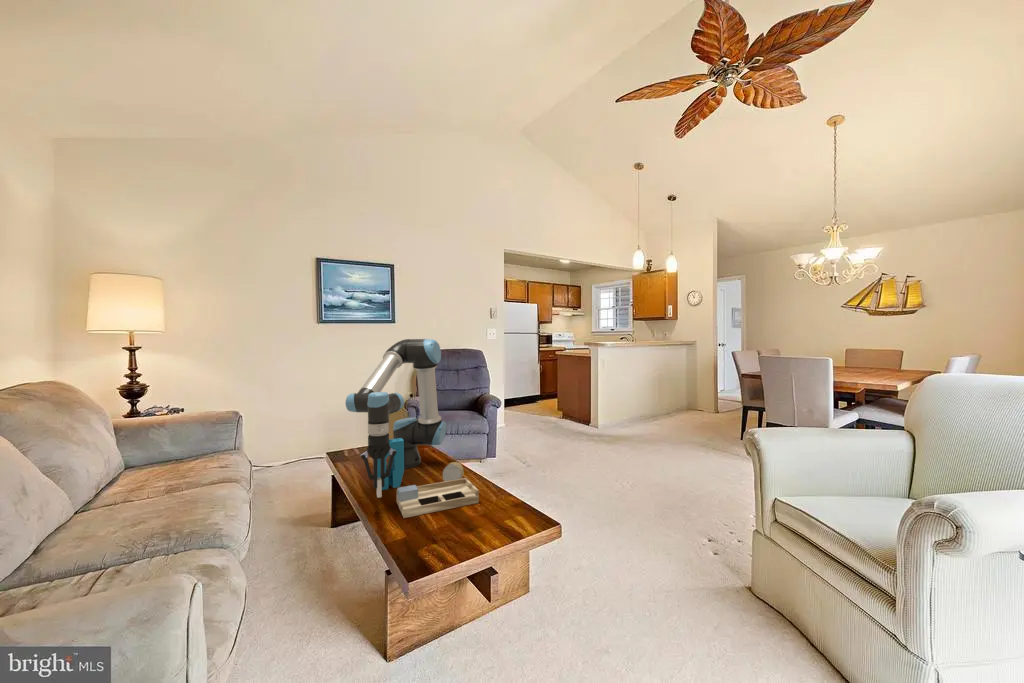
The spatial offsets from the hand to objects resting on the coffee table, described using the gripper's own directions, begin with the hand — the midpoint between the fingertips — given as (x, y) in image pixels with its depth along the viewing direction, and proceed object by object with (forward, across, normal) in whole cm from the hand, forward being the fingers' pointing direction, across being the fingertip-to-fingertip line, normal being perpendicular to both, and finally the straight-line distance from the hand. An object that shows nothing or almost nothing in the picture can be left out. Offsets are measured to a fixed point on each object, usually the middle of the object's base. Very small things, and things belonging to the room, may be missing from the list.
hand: (379, 496), depth 149 cm
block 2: (+6, +7, +23) cm, 24 cm away
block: (+3, +11, 0) cm, 11 cm away
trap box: (+6, +22, -3) cm, 23 cm away
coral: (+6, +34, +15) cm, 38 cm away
